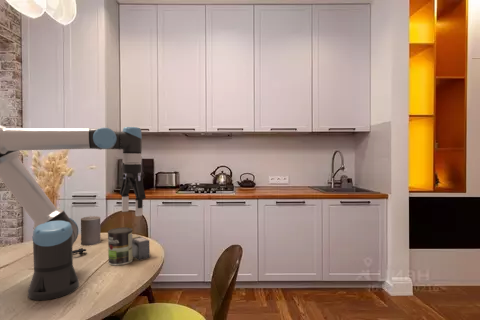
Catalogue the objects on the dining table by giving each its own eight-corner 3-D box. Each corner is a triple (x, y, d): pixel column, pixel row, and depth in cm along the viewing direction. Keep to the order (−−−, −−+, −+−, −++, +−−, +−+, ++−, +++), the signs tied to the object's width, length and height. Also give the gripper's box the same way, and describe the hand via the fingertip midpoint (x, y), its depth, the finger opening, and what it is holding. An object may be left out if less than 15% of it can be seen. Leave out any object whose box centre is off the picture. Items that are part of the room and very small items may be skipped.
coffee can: (119, 267, 127) (118, 234, 127) (103, 263, 132) (102, 231, 132) (138, 259, 136) (137, 228, 136) (122, 256, 141) (121, 226, 141)
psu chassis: (137, 260, 135) (137, 242, 135) (125, 252, 146) (124, 235, 146) (149, 257, 139) (149, 239, 138) (136, 250, 150) (136, 233, 150)
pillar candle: (76, 244, 161) (76, 216, 160) (90, 239, 170) (90, 213, 170) (91, 246, 158) (91, 218, 158) (104, 241, 167) (104, 214, 167)
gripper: (154, 164, 121) (154, 216, 121) (128, 163, 139) (128, 208, 139) (136, 164, 116) (136, 219, 116) (111, 163, 134) (111, 210, 134)
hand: (131, 213), depth 128 cm, fingers open, 13 cm apart
